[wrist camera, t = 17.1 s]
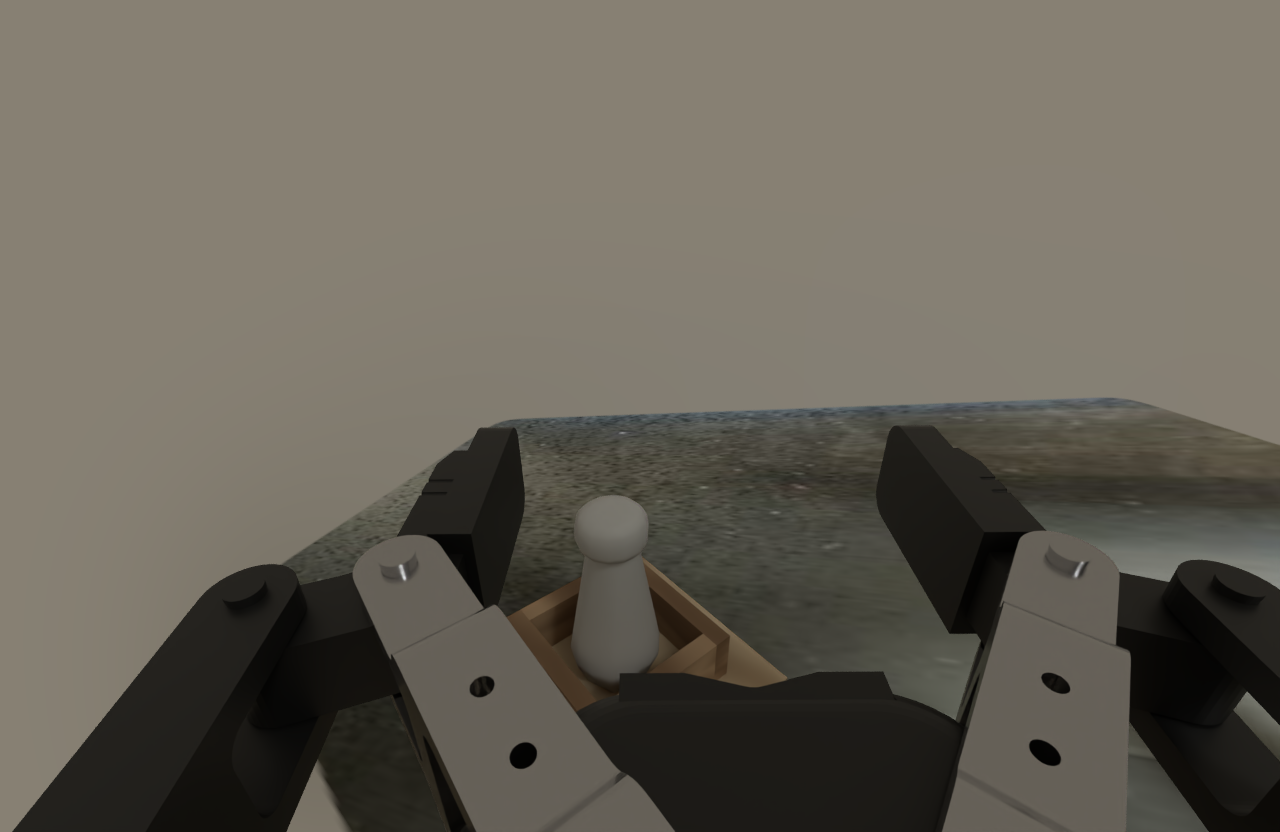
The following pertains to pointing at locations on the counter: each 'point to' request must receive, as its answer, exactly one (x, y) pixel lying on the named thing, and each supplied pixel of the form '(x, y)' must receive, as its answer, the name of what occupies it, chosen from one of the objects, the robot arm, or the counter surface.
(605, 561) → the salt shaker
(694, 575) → the counter surface
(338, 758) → the counter surface
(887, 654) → the counter surface
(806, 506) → the counter surface
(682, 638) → the socket holder
